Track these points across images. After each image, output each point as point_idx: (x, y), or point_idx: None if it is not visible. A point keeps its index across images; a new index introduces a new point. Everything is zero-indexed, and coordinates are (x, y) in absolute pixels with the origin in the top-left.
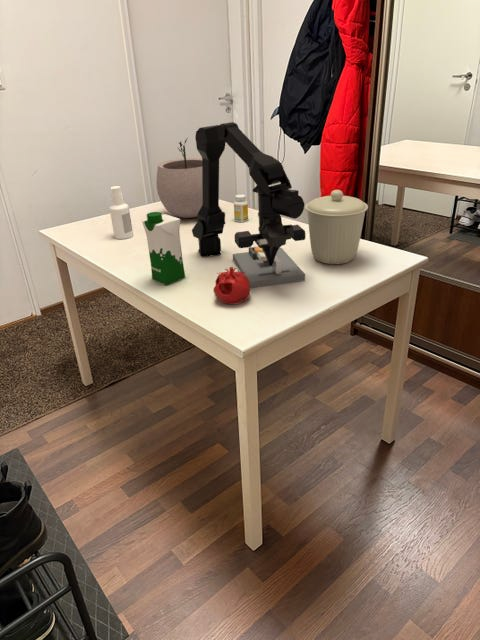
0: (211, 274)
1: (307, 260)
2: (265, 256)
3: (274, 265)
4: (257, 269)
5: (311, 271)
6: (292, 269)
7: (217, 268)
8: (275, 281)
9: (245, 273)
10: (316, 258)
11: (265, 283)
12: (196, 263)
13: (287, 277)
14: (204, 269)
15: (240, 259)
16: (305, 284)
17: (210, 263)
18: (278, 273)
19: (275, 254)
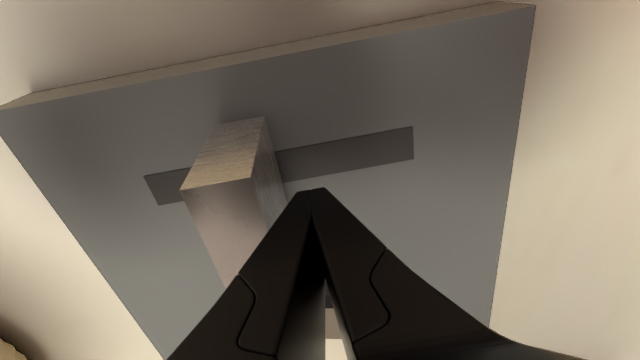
0: (634, 251)
1: (82, 349)
2: (340, 342)
3: (272, 195)
4: (397, 238)
5: (18, 230)
6: (125, 210)
7: (569, 306)
8: (276, 50)
9: (503, 186)
10: (3, 352)
11: (368, 30)
12: (631, 352)
13: (159, 78)
14: (633, 302)
15: None
16: (2, 6)
17: (574, 349)
18: (240, 121)
19: (241, 281)
